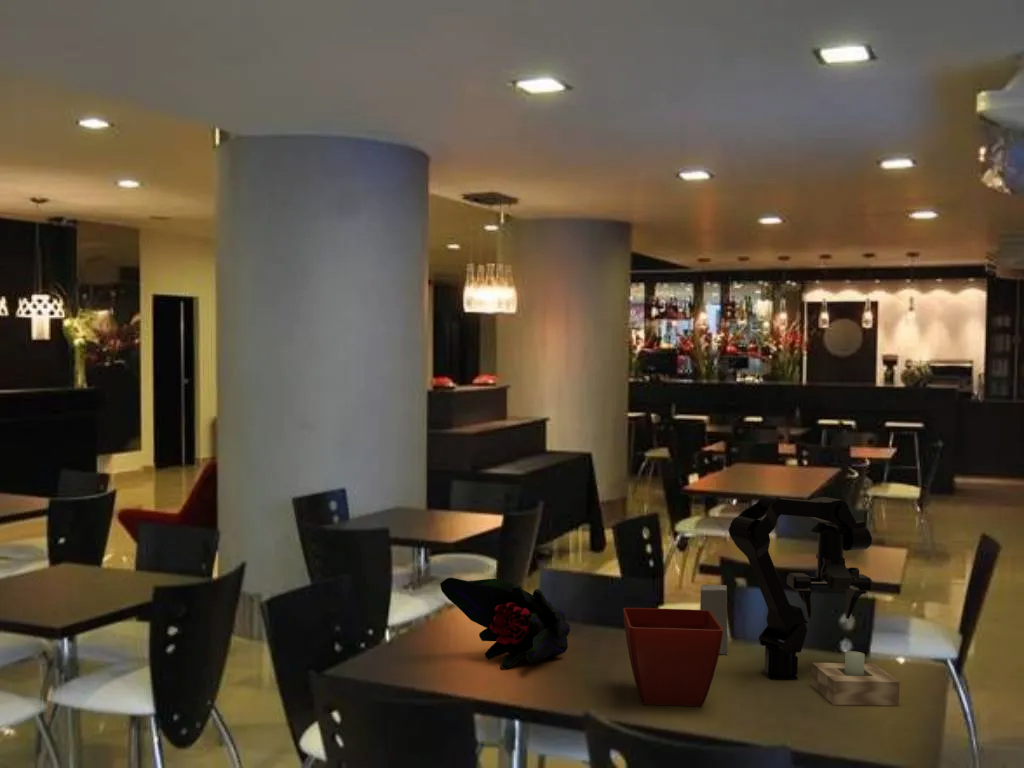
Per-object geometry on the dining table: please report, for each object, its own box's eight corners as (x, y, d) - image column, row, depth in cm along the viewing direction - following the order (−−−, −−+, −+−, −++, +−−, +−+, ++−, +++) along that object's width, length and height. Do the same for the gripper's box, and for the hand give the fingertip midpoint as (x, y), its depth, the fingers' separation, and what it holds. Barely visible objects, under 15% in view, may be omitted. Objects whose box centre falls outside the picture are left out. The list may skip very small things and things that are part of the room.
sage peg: (847, 697, 235) (849, 656, 235) (841, 692, 239) (842, 651, 239) (866, 698, 235) (867, 656, 235) (859, 692, 239) (860, 651, 239)
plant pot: (620, 682, 241) (622, 606, 241) (707, 685, 241) (710, 609, 240) (626, 709, 222) (629, 626, 222) (721, 713, 222) (724, 630, 221)
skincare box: (727, 655, 267) (729, 590, 266) (697, 653, 268) (699, 588, 268) (727, 647, 275) (729, 584, 275) (698, 644, 276) (701, 582, 276)
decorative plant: (562, 700, 258) (478, 691, 236) (497, 636, 275) (413, 622, 254) (606, 626, 255) (525, 610, 234) (538, 566, 273) (457, 546, 251)
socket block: (833, 704, 229) (834, 680, 229) (811, 685, 243) (812, 662, 243) (898, 705, 230) (899, 681, 230) (872, 685, 244) (873, 663, 244)
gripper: (802, 557, 248) (800, 625, 248) (883, 558, 249) (880, 627, 249) (787, 548, 259) (784, 614, 259) (864, 550, 260) (862, 615, 260)
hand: (828, 618), depth 257 cm, fingers open, 9 cm apart
